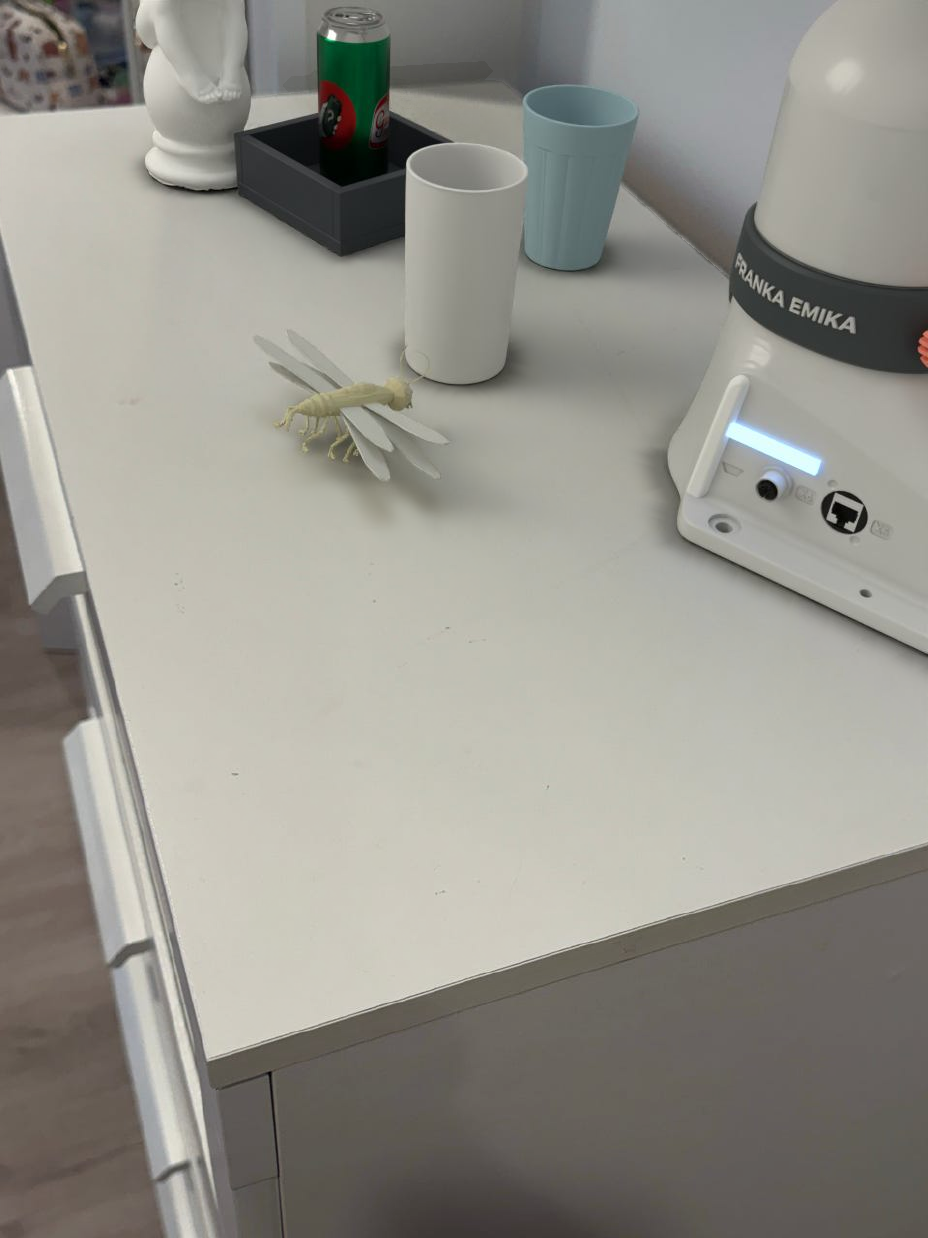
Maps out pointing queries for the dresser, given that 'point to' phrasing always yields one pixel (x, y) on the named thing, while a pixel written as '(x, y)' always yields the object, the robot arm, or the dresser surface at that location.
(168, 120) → the cherub figurine
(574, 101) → the cup
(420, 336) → the mug
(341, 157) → the soda can
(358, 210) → the bin
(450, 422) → the dresser surface
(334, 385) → the toy
